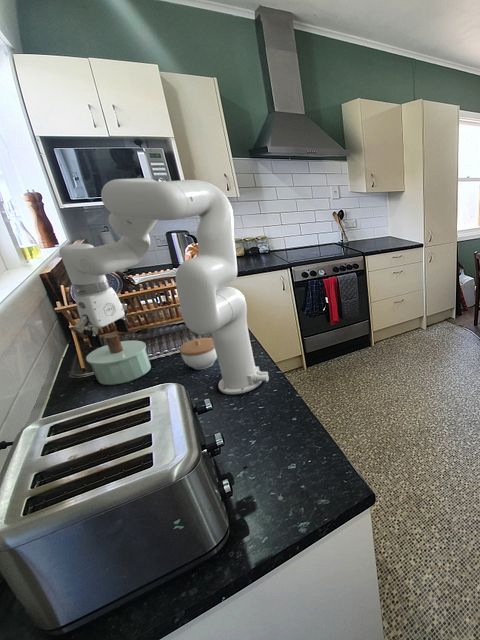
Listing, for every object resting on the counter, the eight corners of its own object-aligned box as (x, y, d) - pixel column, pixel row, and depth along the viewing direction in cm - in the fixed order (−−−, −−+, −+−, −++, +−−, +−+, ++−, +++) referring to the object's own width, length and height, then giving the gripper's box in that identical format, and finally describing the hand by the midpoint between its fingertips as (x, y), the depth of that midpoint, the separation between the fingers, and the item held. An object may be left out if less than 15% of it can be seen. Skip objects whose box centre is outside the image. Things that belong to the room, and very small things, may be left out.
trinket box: (204, 375, 113) (198, 350, 109) (177, 370, 115) (169, 346, 111) (228, 359, 123) (222, 335, 119) (202, 355, 125) (195, 331, 121)
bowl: (160, 362, 120) (154, 343, 116) (129, 385, 107) (121, 364, 104) (121, 361, 119) (114, 342, 116) (85, 384, 107) (76, 363, 104)
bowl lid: (157, 344, 117) (151, 326, 114) (122, 367, 104) (115, 347, 101) (114, 342, 117) (107, 325, 114) (73, 365, 104) (64, 346, 101)
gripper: (77, 298, 93) (99, 353, 100) (128, 278, 109) (144, 327, 116) (49, 297, 93) (73, 352, 100) (104, 277, 109) (121, 326, 116)
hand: (111, 338), depth 108 cm, fingers open, 9 cm apart
